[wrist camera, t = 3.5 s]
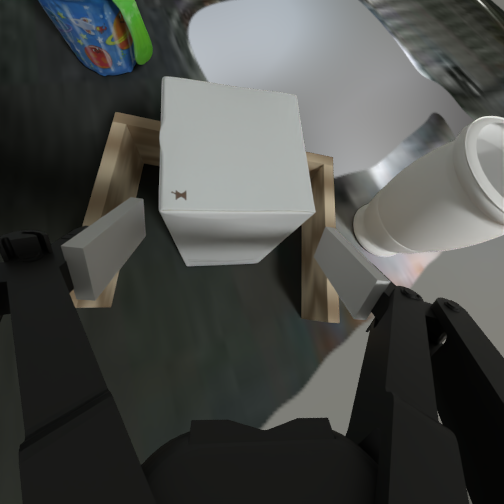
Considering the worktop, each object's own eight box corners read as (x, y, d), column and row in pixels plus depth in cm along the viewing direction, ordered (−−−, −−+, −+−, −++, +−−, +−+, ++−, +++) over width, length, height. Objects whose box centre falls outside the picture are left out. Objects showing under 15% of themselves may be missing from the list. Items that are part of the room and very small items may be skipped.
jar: (400, 200, 33) (543, 122, 19) (414, 264, 31) (591, 229, 17) (340, 196, 31) (451, 105, 17) (351, 264, 29) (491, 225, 15)
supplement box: (259, 264, 26) (321, 217, 12) (185, 267, 24) (152, 214, 10) (254, 198, 28) (301, 91, 14) (185, 196, 26) (158, 69, 12)
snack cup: (32, 35, 28) (-64, -110, 18) (101, 8, 31) (52, -128, 21) (118, 114, 27) (69, 9, 18) (179, 78, 31) (166, -27, 21)
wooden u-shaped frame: (310, 318, 26) (339, 322, 20) (98, 306, 22) (58, 306, 16) (309, 184, 31) (332, 157, 25) (135, 153, 26) (115, 111, 21)
